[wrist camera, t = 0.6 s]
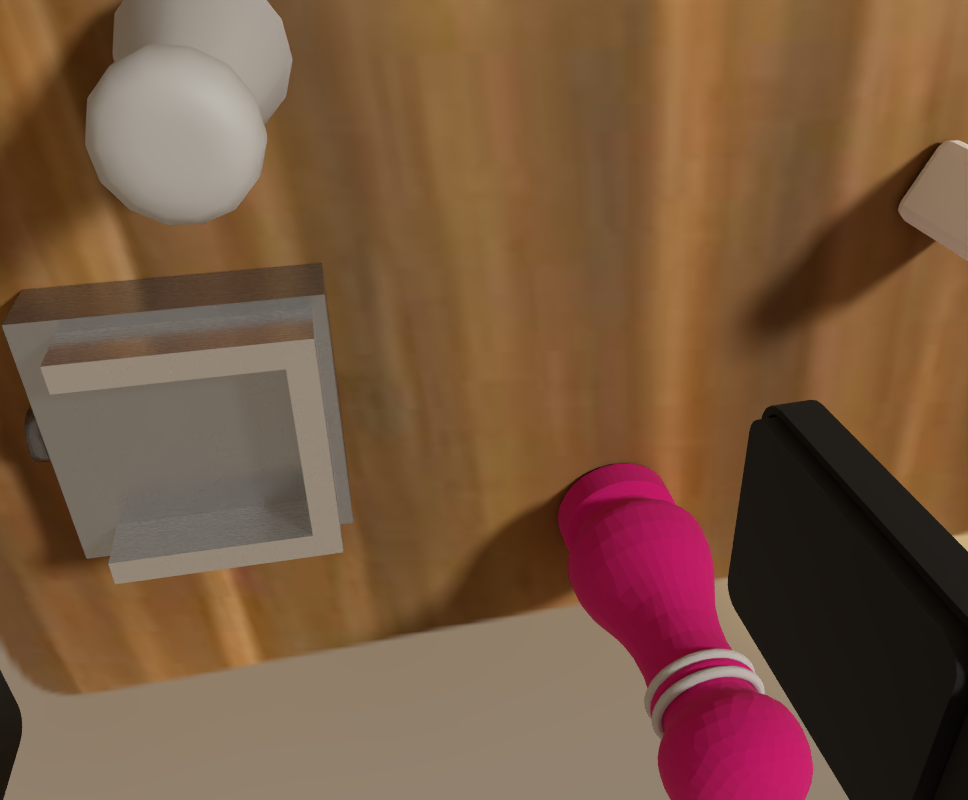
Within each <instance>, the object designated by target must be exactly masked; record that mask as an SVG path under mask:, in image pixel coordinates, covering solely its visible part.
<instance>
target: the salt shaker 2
mask: <svg viewBox="0 0 968 800" xmlns="http://www.w3.org/2000/svg"><path fill="white" fill-rule="evenodd" d="M898 212H899V214H900V215H901V217H902V218H903V220H904V221H906V222H907V223H909V224H910V225H912V226H913V227H915V228H917V229H918V230H920V231H921V232H923V233H924V234H926V235H928V236H929V237H931V238H932V239H934V240H935V241H937V242H939V243H940V244H942V245H943V246H945V247H946V248H948V249H949V250H951V251H953V252H954V253H956V254H957V255H959V256H960V257H962V258H964V259H965V260H967V261H968V144H966V143H963V142H961V141H944V142H943V143H942V144H941V145H940V146H938V148H937V149H936V151H935V152H934V154H933V155H932V156H931V158H930V159H929V161H928V162H927V164H926V165H925V167H924V168H923V170H922V171H921V173H920V174H919V175H918V177H917V178H916V180H915V181H914V183H913V184H912V186H911V187H910V189H909V190H908V192H907V193H906V194H905V196H904V197H903V199H902V200H901V202H900V204H899V207H898Z"/></svg>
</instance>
